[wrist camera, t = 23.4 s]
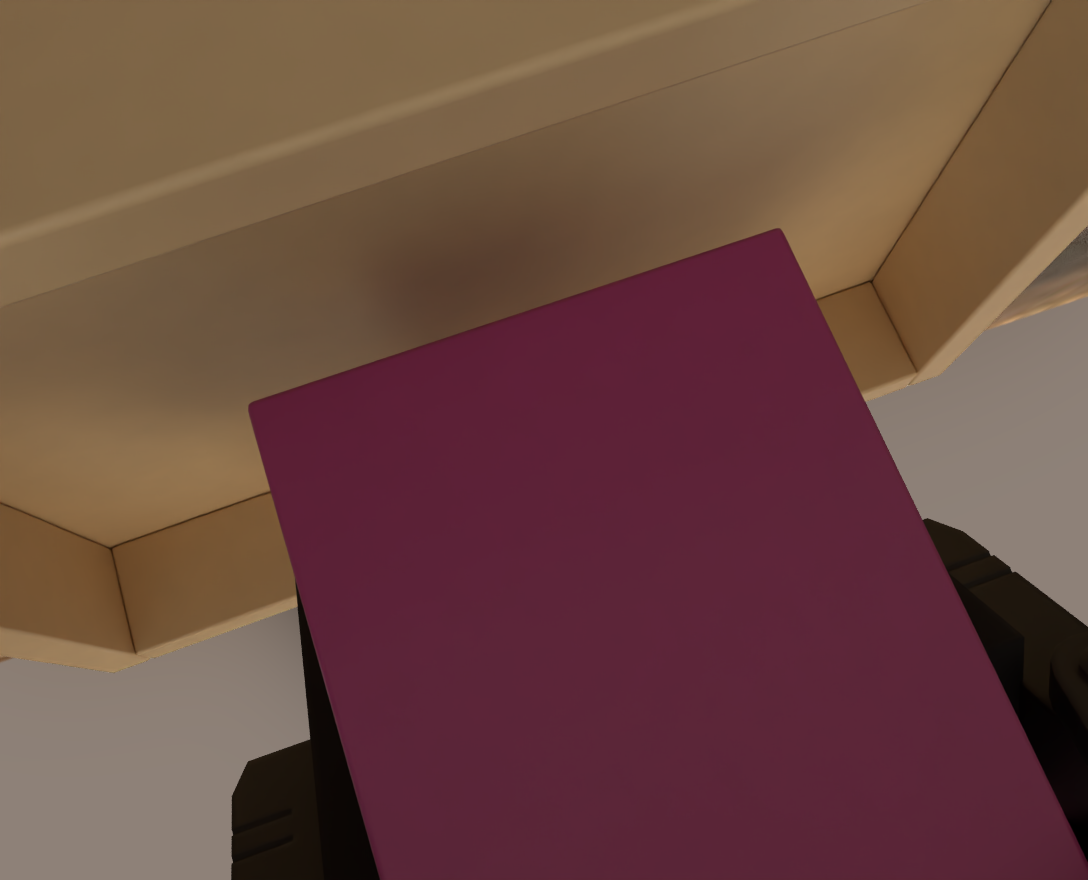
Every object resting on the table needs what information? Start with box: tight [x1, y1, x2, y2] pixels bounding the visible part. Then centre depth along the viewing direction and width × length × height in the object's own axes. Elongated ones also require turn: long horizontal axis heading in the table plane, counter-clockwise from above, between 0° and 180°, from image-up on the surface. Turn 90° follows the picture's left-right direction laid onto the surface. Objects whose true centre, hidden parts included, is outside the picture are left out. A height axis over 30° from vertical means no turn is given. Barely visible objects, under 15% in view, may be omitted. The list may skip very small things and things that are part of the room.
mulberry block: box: [248, 228, 1088, 880], centre depth 12 cm, size 6×6×8 cm
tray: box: [0, 0, 1088, 673], centre depth 14 cm, size 18×14×3 cm
